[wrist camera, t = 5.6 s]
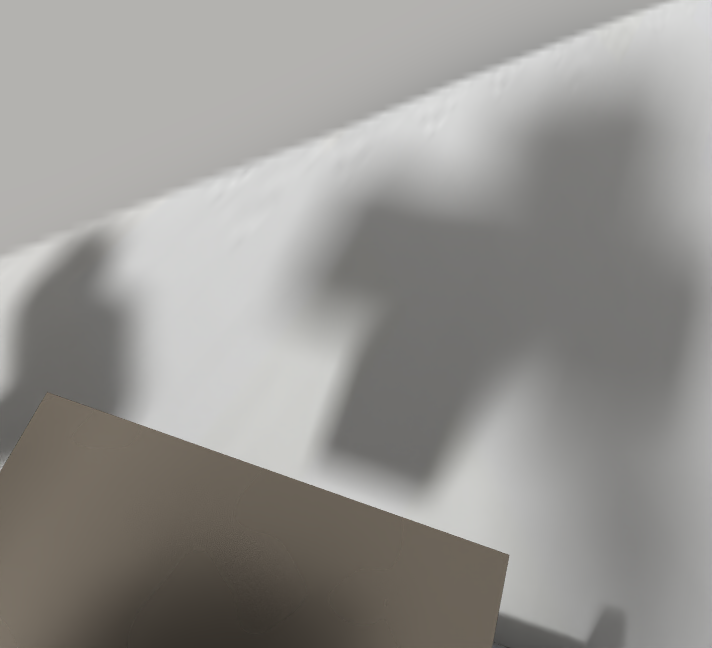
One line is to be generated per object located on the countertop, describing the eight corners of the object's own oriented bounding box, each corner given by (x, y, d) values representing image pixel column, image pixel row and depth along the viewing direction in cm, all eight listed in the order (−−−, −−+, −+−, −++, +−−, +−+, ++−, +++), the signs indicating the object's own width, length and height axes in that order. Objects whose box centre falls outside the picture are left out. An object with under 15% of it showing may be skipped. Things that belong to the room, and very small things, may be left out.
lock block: (330, 744, 12) (344, 1438, 3) (145, 671, 13) (-364, 1091, 3) (389, 531, 14) (510, 549, 5) (226, 474, 14) (50, 387, 5)
